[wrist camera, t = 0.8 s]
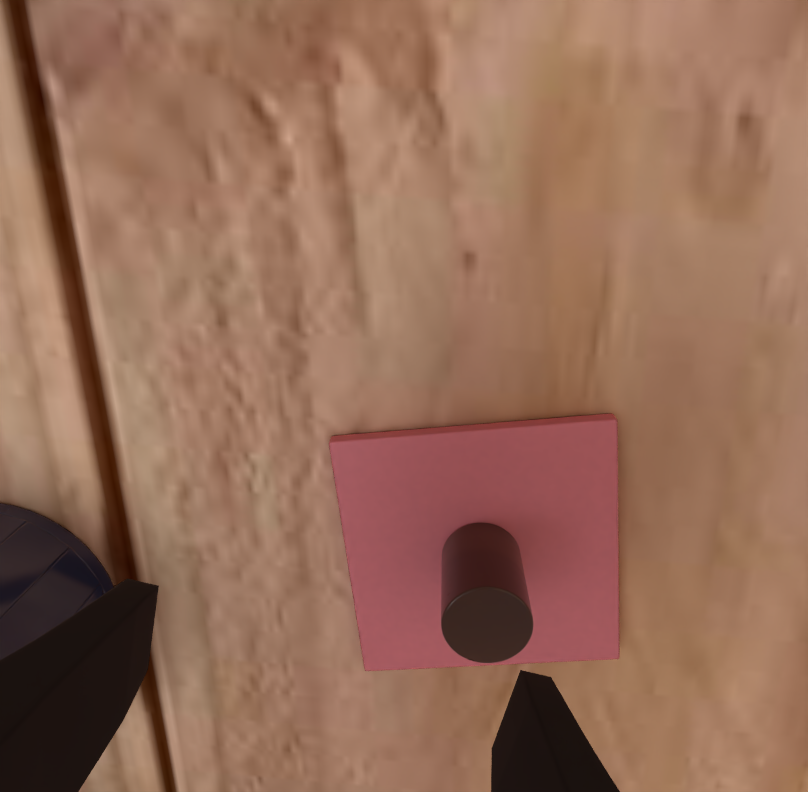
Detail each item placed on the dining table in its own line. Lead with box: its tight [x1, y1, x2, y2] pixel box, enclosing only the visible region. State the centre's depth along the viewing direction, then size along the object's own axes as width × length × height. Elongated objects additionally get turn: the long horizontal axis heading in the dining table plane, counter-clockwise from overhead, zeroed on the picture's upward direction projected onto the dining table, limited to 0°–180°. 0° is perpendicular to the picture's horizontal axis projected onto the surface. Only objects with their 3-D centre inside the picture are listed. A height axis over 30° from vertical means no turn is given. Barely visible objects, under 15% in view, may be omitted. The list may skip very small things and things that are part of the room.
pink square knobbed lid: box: [329, 413, 619, 671], centre depth 21 cm, size 9×9×4 cm
